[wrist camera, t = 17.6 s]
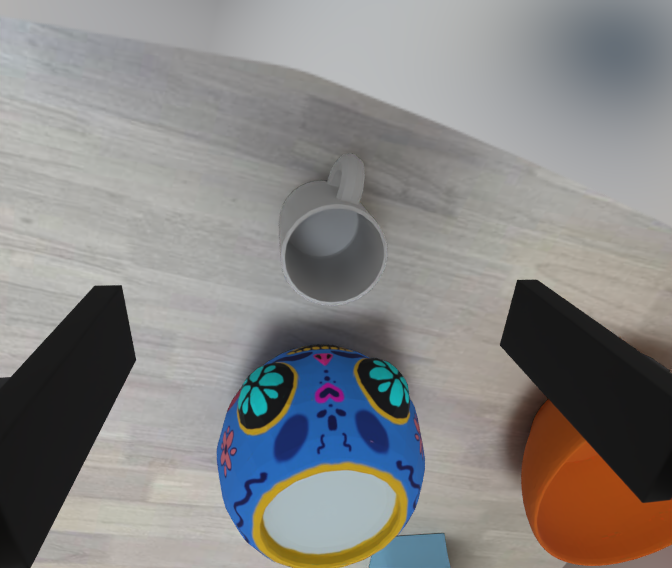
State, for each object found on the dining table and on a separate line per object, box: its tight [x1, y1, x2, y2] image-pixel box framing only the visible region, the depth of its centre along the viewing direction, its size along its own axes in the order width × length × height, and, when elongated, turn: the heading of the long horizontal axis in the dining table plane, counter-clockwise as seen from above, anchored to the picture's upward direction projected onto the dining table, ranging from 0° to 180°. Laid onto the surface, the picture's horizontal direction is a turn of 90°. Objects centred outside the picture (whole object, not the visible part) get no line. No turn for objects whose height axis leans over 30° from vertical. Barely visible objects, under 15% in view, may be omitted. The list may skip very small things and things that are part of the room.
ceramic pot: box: [217, 345, 425, 568], centre depth 35 cm, size 18×18×15 cm
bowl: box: [521, 399, 672, 566], centre depth 46 cm, size 25×25×10 cm
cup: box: [279, 153, 388, 306], centre depth 30 cm, size 7×10×9 cm
